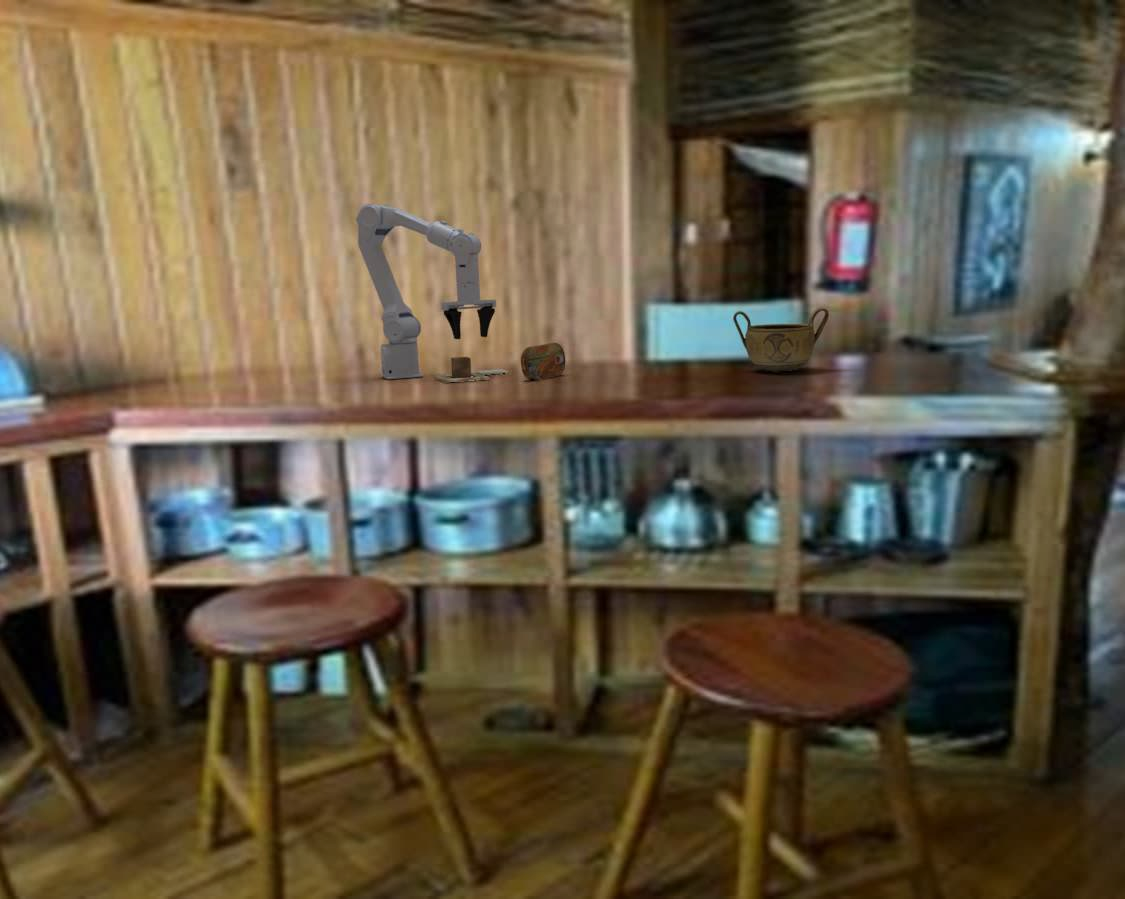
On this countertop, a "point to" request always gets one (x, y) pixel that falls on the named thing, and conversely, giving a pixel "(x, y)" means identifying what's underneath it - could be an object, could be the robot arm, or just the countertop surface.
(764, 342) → the ceramic bowl
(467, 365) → the walnut block
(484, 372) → the ceramic pad
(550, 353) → the tin
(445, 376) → the pocket board
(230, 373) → the countertop surface
